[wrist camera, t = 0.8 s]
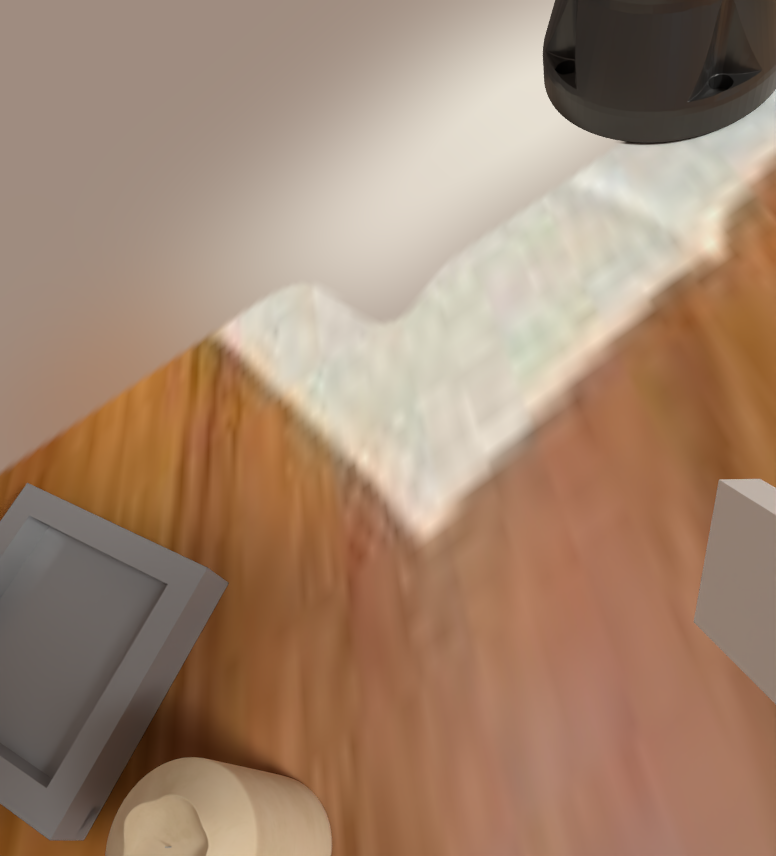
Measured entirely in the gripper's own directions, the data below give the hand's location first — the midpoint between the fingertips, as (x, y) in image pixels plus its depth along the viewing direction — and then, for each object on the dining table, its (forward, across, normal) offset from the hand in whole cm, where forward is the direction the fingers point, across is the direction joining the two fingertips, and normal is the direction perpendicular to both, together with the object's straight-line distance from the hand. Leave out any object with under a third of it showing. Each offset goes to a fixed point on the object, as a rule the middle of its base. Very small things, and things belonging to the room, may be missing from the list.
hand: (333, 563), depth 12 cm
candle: (+15, -1, -21) cm, 26 cm away
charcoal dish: (+25, -12, -17) cm, 33 cm away
